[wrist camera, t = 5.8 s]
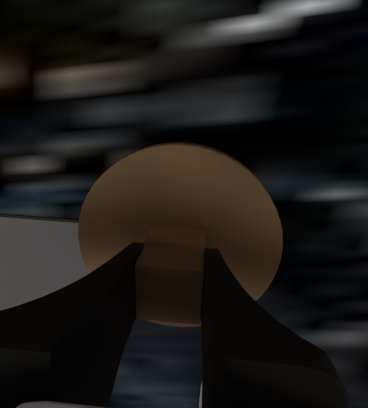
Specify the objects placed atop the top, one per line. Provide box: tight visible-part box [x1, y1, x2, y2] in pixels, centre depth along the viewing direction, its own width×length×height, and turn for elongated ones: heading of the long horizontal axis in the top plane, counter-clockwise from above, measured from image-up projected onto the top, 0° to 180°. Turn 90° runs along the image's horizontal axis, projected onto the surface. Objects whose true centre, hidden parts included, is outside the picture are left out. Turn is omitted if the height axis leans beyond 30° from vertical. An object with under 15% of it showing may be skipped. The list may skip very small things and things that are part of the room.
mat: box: [0, 214, 89, 311], centre depth 20 cm, size 10×10×1 cm
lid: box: [78, 142, 283, 327], centre depth 13 cm, size 10×10×4 cm
